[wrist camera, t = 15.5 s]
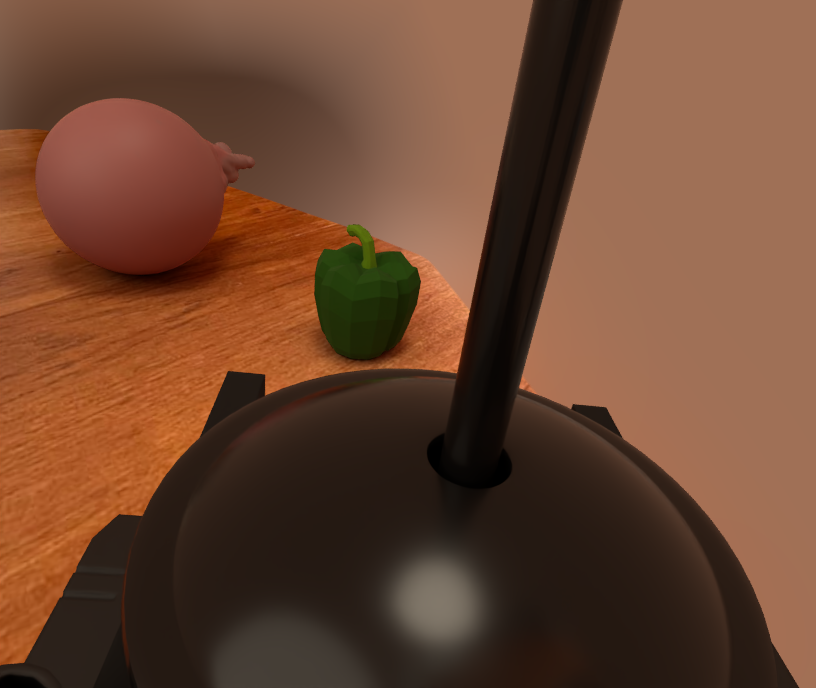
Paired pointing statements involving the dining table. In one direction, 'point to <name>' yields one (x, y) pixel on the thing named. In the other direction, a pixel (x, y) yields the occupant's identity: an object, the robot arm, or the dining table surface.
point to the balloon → (133, 185)
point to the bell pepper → (364, 297)
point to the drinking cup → (446, 495)
